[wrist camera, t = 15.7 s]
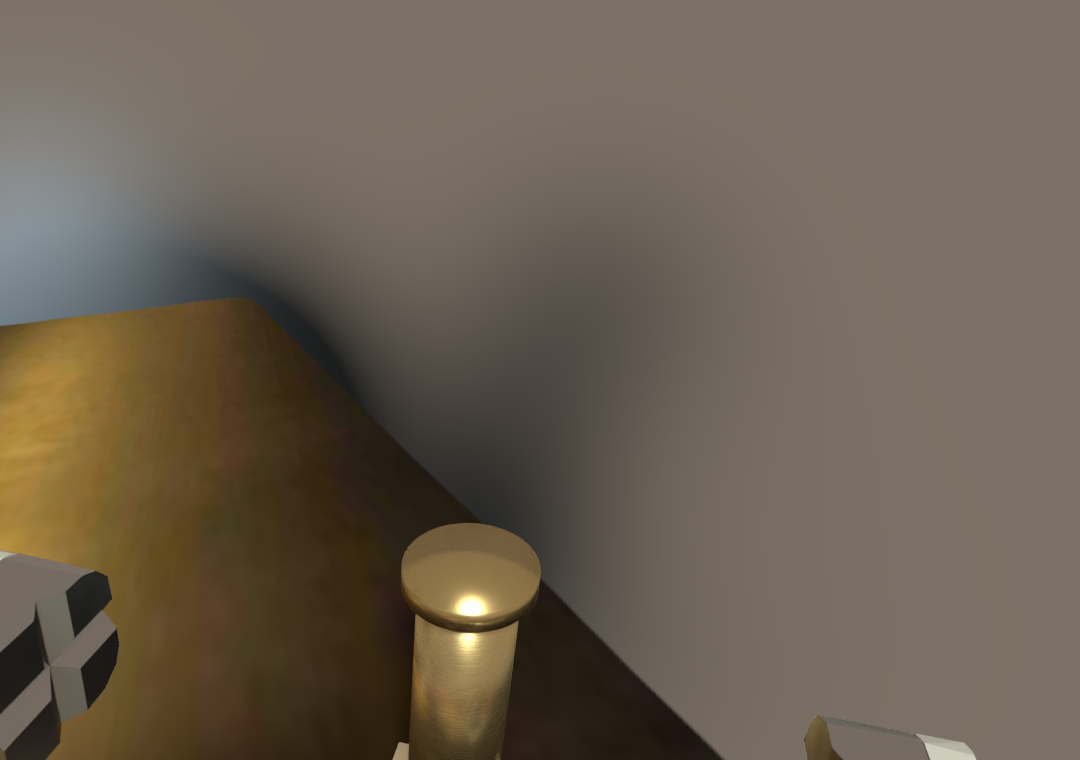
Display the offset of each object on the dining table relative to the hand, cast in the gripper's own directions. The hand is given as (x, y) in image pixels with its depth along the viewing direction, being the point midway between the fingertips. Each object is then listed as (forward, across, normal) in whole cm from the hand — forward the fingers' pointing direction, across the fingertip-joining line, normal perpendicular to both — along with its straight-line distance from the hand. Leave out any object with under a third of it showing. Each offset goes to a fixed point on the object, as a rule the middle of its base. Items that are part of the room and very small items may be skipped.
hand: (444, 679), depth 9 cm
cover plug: (+20, -3, -32) cm, 38 cm away
